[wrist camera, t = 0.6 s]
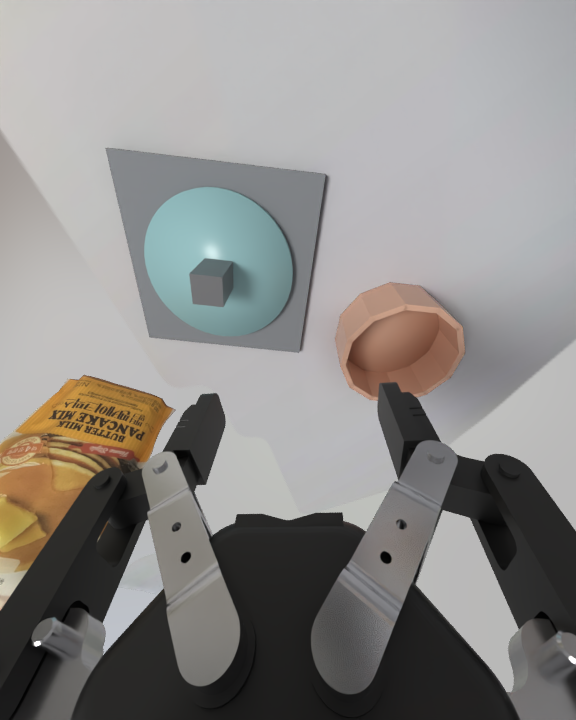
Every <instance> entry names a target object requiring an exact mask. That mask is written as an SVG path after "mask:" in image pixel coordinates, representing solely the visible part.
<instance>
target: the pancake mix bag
mask: <svg viewBox="0 0 576 720" xmlns="http://www.w3.org/2000/svg"><path fill="white" fill-rule="evenodd" d="M174 411H175V409H173V408H171V407H168V406H167V405H166V404H165V402H164V401H163V399H161V398H159V397H157V396H155V395H152V394H149V393H145V392H142V391H139V390H136V389H132V388H129V387H126V386H122V385H118V384H114V383H111V382H108V381H105V380H102V379H99V378H95V377H91V376H86V375H83V376H82V377H81V378H80V379H79V380H74V379H67V381H66V382H65V384H64V385H63V386H62V388H61V389H60V390H59V392H57V393H56V394H55V395H53V396H52V397H51V398H50V399H48V400H47V401H46V402H45V403H44V404H43V405H42V406H40V407H39V408H38V409H37V410H36V411H34V412H33V413H32V414H31V415H30V416H29V417H28V418H27V419H26V420H25V421H24V422H23V423H22V424H21V425H20V426H18V427H17V428H16V429H15V430H14V431H13V432H12V433H11V434H9V435H8V436H7V437H6V438H5V439H4V440H2V441H1V442H0V610H1V609H2V607H3V606H4V604H5V603H6V602H7V600H8V599H9V597H10V596H11V594H12V593H13V591H14V590H15V588H16V587H17V585H18V584H19V582H20V581H21V579H22V578H23V576H24V575H25V574H26V572H27V571H28V569H29V568H30V566H31V565H32V563H33V562H34V560H35V559H36V557H37V556H38V554H39V553H40V551H41V550H42V548H43V547H44V546H45V544H46V543H47V541H48V540H49V538H50V537H51V535H52V534H53V532H54V531H55V529H56V528H57V526H58V525H59V523H60V522H61V520H62V519H63V518H64V516H65V515H66V513H67V512H68V510H69V509H70V507H71V506H72V504H73V503H74V501H75V500H76V498H77V497H78V495H79V494H80V492H81V491H82V490H83V488H84V487H85V485H86V484H87V482H88V481H89V480H90V479H91V478H92V477H93V476H94V475H96V474H97V473H99V472H100V471H102V470H104V469H107V468H112V467H116V468H119V469H120V470H121V471H122V473H123V474H125V473H129V472H132V471H135V470H138V469H141V468H143V467H144V465H145V463H146V462H147V461H148V460H149V458H150V456H151V454H152V451H153V447H154V444H155V441H156V439H157V436H158V434H159V432H160V430H161V428H162V426H163V425H164V423H165V422H166V420H167V419H168V418H169V417H170V416H171V415H172V414H173V412H174ZM107 523H108V521H107ZM107 523H106V525H107ZM106 525H105V527H106ZM105 527H104V529H105ZM104 529H103V531H104ZM103 531H102V532H103ZM101 534H102V533H101ZM101 534H100V536H101ZM100 536H99V538H100ZM99 538H98V540H99ZM97 542H98V541H97Z"/></svg>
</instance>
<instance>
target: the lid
mask: <svg viewBox="0 0 576 720" xmlns="http://www.w3.org/2000/svg"><path fill="white" fill-rule="evenodd" d="M144 257H145V264H146V268H147V272H148V276H149V278H150V281H151V283H152V285H153V287H154V289H155V291H156V293H157V294H158V296H159V297H160V299H161V300H162V301H163V303H164V304H165V305H166V306H167V307H168V308H169V309H170V310H171V311H172V312H173V313H174V314H175V315H176V316H177V317H178V318H180V319H181V320H182V321H184V322H185V323H187V324H189V325H190V326H192V327H194V328H196V329H198V330H201V331H203V332H206V333H210V334H213V335H219V336H241V335H246V334H250V333H253V332H255V331H258V330H260V329H262V328H263V327H265V326H267V325H268V324H269V323H270V322H272V321H273V320H274V319H275V318H276V317H277V316H278V315H279V313H280V312H281V310H282V309H283V307H284V306H285V304H286V302H287V300H288V297H289V294H290V291H291V285H292V276H293V266H292V257H291V253H290V249H289V246H288V243H287V240H286V238H285V236H284V234H283V232H282V230H281V229H280V227H279V226H278V224H277V223H276V221H275V220H274V219H273V218H272V217H271V215H270V214H269V213H268V212H267V211H266V210H265V209H264V208H262V207H261V206H260V205H259V204H258V203H256V202H255V201H253V200H252V199H250V198H249V197H247V196H245V195H243V194H241V193H238V192H236V191H233V190H230V189H225V188H220V187H199V188H194V189H190V190H187V191H183V192H181V193H179V194H177V195H175V196H173V197H172V198H170V199H169V200H167V201H166V202H165V203H164V204H163V205H162V206H161V207H160V208H159V209H158V210H157V212H156V213H155V215H154V216H153V217H152V220H151V222H150V224H149V226H148V229H147V233H146V236H145V244H144Z"/></svg>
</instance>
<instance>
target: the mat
mask: <svg viewBox="0 0 576 720" xmlns="http://www.w3.org/2000/svg"><path fill="white" fill-rule="evenodd" d="M106 153H107V157H108V161H109V165H110V170H111V174H112V178H113V183H114V187H115V191H116V195H117V200H118V204H119V208H120V213H121V217H122V221H123V225H124V230H125V234H126V238H127V243H128V247H129V251H130V255H131V260H132V264H133V268H134V273H135V277H136V281H137V285H138V290H139V294H140V298H141V303H142V307H143V311H144V316H145V320H146V324H147V328H148V333H149V337H151V338H161V339H170V340H180V341H190V342H200V343H209V344H219V345H229V346H239V347H249V348H258V349H268V350H278V351H288V352H297V353H299V351H300V344H301V337H302V331H303V324H304V317H305V310H306V304H307V297H308V290H309V283H310V277H311V270H312V263H313V256H314V250H315V243H316V236H317V229H318V223H319V216H320V209H321V202H322V196H323V189H324V182H325V176H326V174H321V173H313V172H304V171H296V170H288V169H279V168H271V167H263V166H254V165H246V164H238V163H229V162H221V161H213V160H204V159H196V158H188V157H180V156H171V155H163V154H155V153H146V152H138V151H130V150H121V149H113V148H106ZM199 187H220V188H225V189H230V190H233V191H236V192H238V193H241V194H243V195H245V196H247V197H249V198H250V199H252V200H253V201H255V202H256V203H258V204H259V205H260V206H261V207H262V208H264V209H265V210H266V211H267V212H268V213H269V214H270V215H271V217H272V218H273V219H274V220H275V221H276V223H277V224H278V226H279V227H280V229H281V230H282V232H283V234H284V236H285V238H286V240H287V243H288V246H289V249H290V253H291V257H292V266H293V276H292V285H291V291H290V294H289V297H288V300H287V302H286V304H285V306H284V307H283V309H282V310H281V312H280V313H279V315H278V316H277V317H276V318H275V319H274V320H273V321H272V322H270V323H269V324H268V325H267V326H265V327H263V328H262V329H260V330H258V331H255V332H253V333H250V334H246V335H241V336H219V335H213V334H210V333H206V332H203V331H201V330H198V329H196V328H194V327H192V326H190V325H189V324H187V323H185V322H184V321H182V320H181V319H180V318H178V317H177V316H176V315H175V314H174V313H173V312H172V311H171V310H170V309H169V308H168V307H167V306H166V305H165V304H164V303H163V301H162V300H161V299H160V297H159V296H158V294H157V293H156V291H155V289H154V287H153V285H152V283H151V281H150V278H149V276H148V272H147V268H146V264H145V257H144V244H145V236H146V233H147V229H148V226H149V224H150V222H151V220H152V217H153V216H154V215H155V213H156V212H157V210H158V209H159V208H160V207H161V206H162V205H163V204H164V203H165V202H166V201H167V200H169V199H170V198H172V197H173V196H175V195H177V194H179V193H181V192H183V191H187V190H190V189H194V188H199Z"/></svg>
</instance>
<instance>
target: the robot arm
mask: <svg viewBox="0 0 576 720" xmlns="http://www.w3.org/2000/svg"><path fill="white" fill-rule="evenodd" d="M378 417H379V421H380V424H381V427H382V431H383V434H384V437H385V440H386V443H387V446H388V449H389V452H390V455H391V458H392V462H393V465H394V468H395V471H396V474H397V477H398V482H396V481H395V482H394V483H393V484H392V486H391V487H390V489H389V491H388V493H387V495H386V496H385V498H384V500H383V502H382V504H381V506H380V507H379V509H378V511H377V513H376V514H375V516H374V518H373V520H372V522H371V524H370V525H369V527H368V529H367V531H364V530H363V529H361V528H360V527H358V526H356V525H354V524H351V523H348V522H345V521H343V515H342V513H314V514H310V515H307V516H303V517H300V518H297V519H294V520H283V519H279V518H275V517H272V516H268V515H264V514H237V517H236V521H235V523H234V524H231V525H229V526H227V527H225V528H223V529H221V530H220V531H219V532H217V533H215V534H214V535H213V534H212V532H211V530H210V528H209V526H208V523H207V521H206V518H205V516H204V514H203V511H202V509H201V506H200V504H199V502H198V499H197V497H196V494H195V492H194V491H195V488H196V485H206V482H207V479H208V476H209V473H210V470H211V467H212V464H213V461H214V458H215V455H216V452H217V449H218V446H219V443H220V440H221V437H222V434H223V431H224V428H225V414H224V411H223V408H222V405H221V402H220V399H219V396H218V394H217V393H213V394H202V395H200V397H199V399H198V401H197V403H196V405H191V406H190V407H189V408H188V409H187V410H186V411H185V412H184V413H183V415H182V417H181V419H180V422H178V425H177V426H176V428H175V430H174V432H173V433H172V435H171V437H170V439H169V441H168V443H167V445H166V446H165V448H164V450H163V452H162V453H159V454H157V455H155V456H153V457H152V458H150V459H149V460H148V461H147V462H146V463H145V465H144V467H143V468H141V469H138V470H135V471H132V472H129V473H125V474H123V473H122V471H121V470H120V469H119V468H116V467H112V468H107V469H104V470H102V471H100V472H99V473H97V474H96V475H94V476H93V477H92V478H91V479H90V480H89V481H88V482H87V484H86V485H85V487H84V488H83V490H82V491H81V492H80V494H79V495H78V497H77V498H76V500H75V501H74V503H73V504H72V506H71V507H70V509H69V510H68V512H67V513H66V515H65V516H64V518H63V519H62V520H61V522H60V523H59V525H58V526H57V528H56V529H55V531H54V532H53V534H52V535H51V537H50V538H49V540H48V541H47V543H46V544H45V546H44V547H43V548H42V550H41V551H40V553H39V554H38V556H37V557H36V559H35V560H34V562H33V563H32V565H31V566H30V568H29V569H28V571H27V572H26V574H25V575H24V576H23V578H22V579H21V581H20V582H19V584H18V585H17V587H16V588H15V590H14V591H13V593H12V594H11V596H10V597H9V599H8V600H7V602H6V603H5V604H4V606H3V607H2V609H1V610H0V720H576V531H575V530H574V528H573V527H572V526H571V524H570V523H569V521H568V520H567V519H566V517H565V516H564V514H563V513H562V512H561V511H560V509H559V508H558V506H557V505H556V503H555V502H554V501H553V499H552V498H551V497H550V495H549V494H548V493H547V491H546V490H545V488H544V487H543V486H542V484H541V483H540V481H539V480H538V479H537V477H536V476H535V475H534V473H533V472H532V471H531V469H530V468H529V467H528V466H527V465H526V464H524V463H523V462H521V461H520V460H518V459H516V458H514V457H511V456H508V455H504V454H493V455H490V456H488V457H487V458H486V459H485V462H484V461H479V460H474V459H469V458H465V457H462V456H459V455H457V454H456V453H455V452H454V451H453V450H452V449H451V448H450V447H449V446H447V445H446V444H444V443H441V441H440V439H439V437H438V436H437V434H436V432H435V430H434V428H433V426H432V424H431V423H430V421H429V419H428V417H427V416H426V413H425V411H424V410H423V409H422V406H421V404H420V402H419V400H418V399H417V398H416V397H415V396H414V395H412V394H411V393H410V392H401V390H400V388H399V386H398V384H397V382H387V383H380V384H379V393H378ZM443 510H445V511H449V512H452V513H455V514H459V515H463V516H466V517H469V518H470V519H471V521H472V523H473V526H474V528H475V530H476V532H477V535H478V537H479V539H480V542H481V544H482V546H483V548H484V550H485V553H486V555H487V558H488V560H489V562H490V564H491V567H492V569H493V571H494V574H495V576H496V578H497V580H498V583H499V585H500V587H501V589H502V592H503V594H504V596H505V599H506V601H507V603H508V605H509V607H510V610H511V612H512V614H513V617H514V619H515V621H516V623H517V626H518V628H519V630H518V631H517V632H516V633H515V635H514V636H513V637H512V638H511V640H510V642H509V647H508V651H509V658H510V662H511V665H512V669H513V674H514V686H513V690H512V692H506V691H505V689H504V687H503V686H502V684H501V683H500V681H499V680H498V679H497V677H496V676H495V674H494V673H493V672H492V670H491V669H490V668H489V667H488V666H487V664H486V663H485V662H484V661H483V660H482V659H481V658H480V657H479V655H477V653H476V652H475V651H474V650H473V649H472V648H471V646H469V644H468V643H467V642H466V641H465V640H464V639H463V637H462V636H461V635H460V634H459V633H458V632H457V631H456V630H455V628H454V627H453V626H452V625H451V624H450V623H449V622H448V621H447V620H446V618H445V617H443V615H442V614H441V613H440V612H439V611H438V609H437V608H436V607H435V606H434V605H433V604H432V603H431V602H430V600H429V599H428V598H427V597H426V596H425V595H424V594H423V593H422V592H421V590H420V589H419V588H418V587H417V586H416V582H417V580H418V577H419V574H420V572H421V569H422V566H423V563H424V560H425V557H426V554H427V551H428V548H429V546H430V543H431V540H432V538H433V535H434V532H435V530H436V527H437V524H438V522H439V519H440V516H441V513H442V511H443ZM146 520H149V524H150V529H151V533H152V538H153V542H154V546H155V551H156V555H157V560H158V564H159V569H160V573H161V577H162V582H163V586H164V589H163V590H162V591H161V592H160V593H159V594H158V595H157V596H156V597H155V599H154V600H153V601H152V602H151V603H150V604H149V605H148V606H147V608H145V610H144V611H143V612H142V613H141V614H140V615H139V616H138V617H137V618H136V619H135V620H134V622H133V623H132V624H131V625H130V626H129V627H128V628H127V629H126V630H125V631H124V633H123V634H122V635H121V636H120V637H119V638H118V639H117V640H116V642H114V644H113V645H112V646H111V647H110V648H109V649H108V650H107V651H106V653H105V654H104V655H103V645H104V642H105V634H106V633H105V627H104V625H103V624H102V623H103V621H104V618H105V616H106V613H107V611H108V609H109V606H110V604H111V602H112V599H113V597H114V594H115V592H116V590H117V588H118V585H119V583H120V580H121V578H122V576H123V573H124V571H125V569H126V566H127V564H128V561H129V559H130V557H131V554H132V552H133V550H134V547H135V545H136V543H137V540H138V538H139V535H140V533H141V531H142V528H143V526H144V524H145V521H146ZM107 521H108V523H107ZM106 523H107V525H106ZM105 525H106V527H105ZM104 527H105V529H104ZM103 529H104V531H103ZM102 531H103V532H102ZM101 533H102V534H101ZM100 534H101V536H100ZM99 536H100V538H99ZM98 538H99V540H98ZM97 541H98V542H97Z"/></svg>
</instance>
